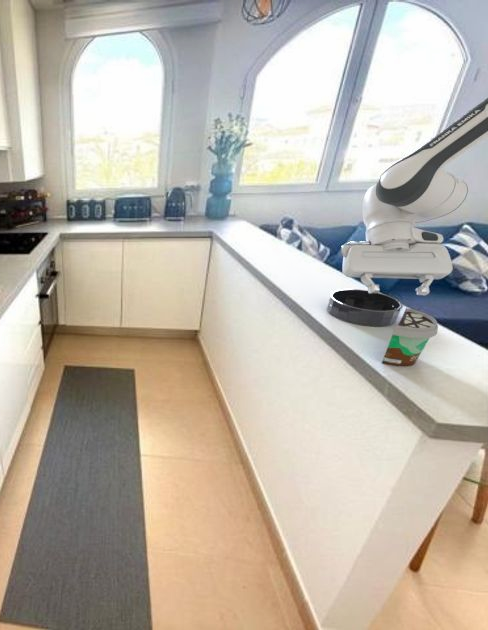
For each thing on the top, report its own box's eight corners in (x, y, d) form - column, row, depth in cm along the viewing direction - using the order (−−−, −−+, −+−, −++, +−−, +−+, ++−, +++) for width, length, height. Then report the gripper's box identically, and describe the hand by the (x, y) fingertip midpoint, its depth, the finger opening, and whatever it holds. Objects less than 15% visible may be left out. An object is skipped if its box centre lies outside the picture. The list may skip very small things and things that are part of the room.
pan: (379, 304, 102) (384, 290, 100) (409, 328, 89) (416, 313, 87) (318, 301, 106) (322, 288, 104) (339, 324, 93) (343, 309, 91)
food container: (418, 377, 72) (437, 335, 67) (380, 365, 76) (395, 326, 72) (426, 353, 79) (444, 314, 74) (391, 344, 83) (406, 307, 79)
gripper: (347, 235, 85) (352, 286, 80) (451, 234, 79) (463, 290, 75) (334, 248, 90) (339, 296, 86) (431, 248, 85) (441, 300, 81)
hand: (398, 293), depth 80 cm, fingers open, 8 cm apart
